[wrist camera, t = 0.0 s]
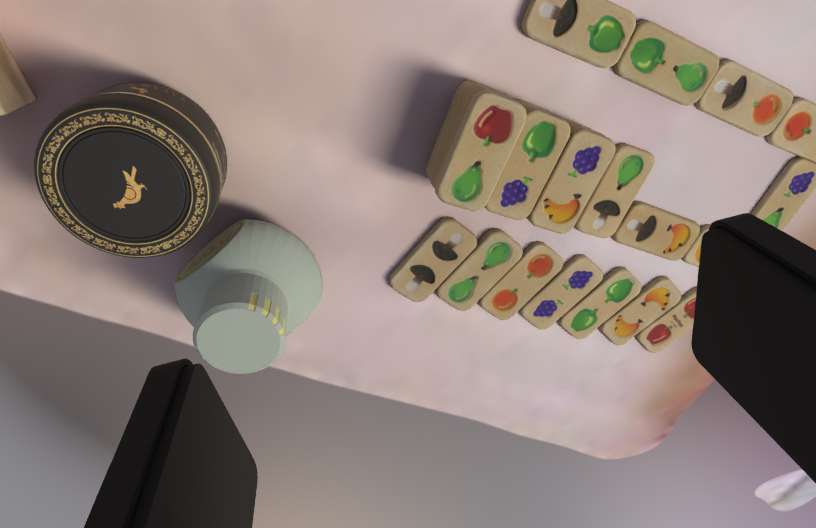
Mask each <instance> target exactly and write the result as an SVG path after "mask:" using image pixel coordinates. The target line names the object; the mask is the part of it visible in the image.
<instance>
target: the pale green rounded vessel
mask: <svg viewBox="0 0 816 528" xmlns="http://www.w3.org/2000/svg"><path fill="white" fill-rule="evenodd" d="M174 286H175V294H176V298H177V302H178V304H179V306H180V309H181V311H182V313H183V314H184V316H185V317H186V319H187V320H188V321H189V322H190V324H191V325H192V326H193V327H194V331H193V342H194V346H195V347H197V352H198V354H199V355H200V356H201V357H202V358H204V359H205V362H207V363H208V364H210V365H211V366H214V367H216V368H217V369H219V370H222V371H226V372H230V373H237V374H244V373H252V372H256V371H259V370H262V369H264V368H266V367H268V366H270V365H271V364H272V363H273V362H275V361H276V360H277V359H278V357H279V356H280V354H281V353H282V351H283V348H284V344H285V336H287V335H288V334H289V333H291V332H292V331H293V330H294V329H296V328H297V327H298V326H299V325H300V324H301V323H302V322H303V321H304V320H305V319H306V318H307V317H308V316H309V315H310V314H311V313H312V311H313V310H314V309H315V308H316V306H317V305H318V303H319V302H320V300H321V297H322V290H323V284H322V275H321V271H320V267H319V264H318V262H317V260H316V258H315V256H314V254H313V253H312V252H311V250H310V249H309V248H308V246H307V245H306V244H305V243H304V242H303V241H302V240H301V239H300V238H299V237H297V236H296V235H294V234H293V233H292V232H290V231H288V230H287V229H285V228H283V227H281V226H278V225H275V224H272V223H269V222H265V221H260V220H249V219H243V220H240V221H238V222H236V223H234V224H233V225H231V226H230V227H228V228H227V229H225V230H224V231H223V232H221V233H220V234H219V235H217V236H216V237H215V238H214V239H213V240H211V241H210V242H209V243H208V244H207V245H206V246H204V247H203V248H202V249H201V250H200V251H199V252H198V253H197V254H196V255H195V256H194V257H193V258H192V259H191V260H190V261H189V262H188V263H187V264H186V265H185V266H184V267H183V268H182V270H181V271H180V272H179V273H178V275H177V276H176V278H175V281H174Z"/></svg>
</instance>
